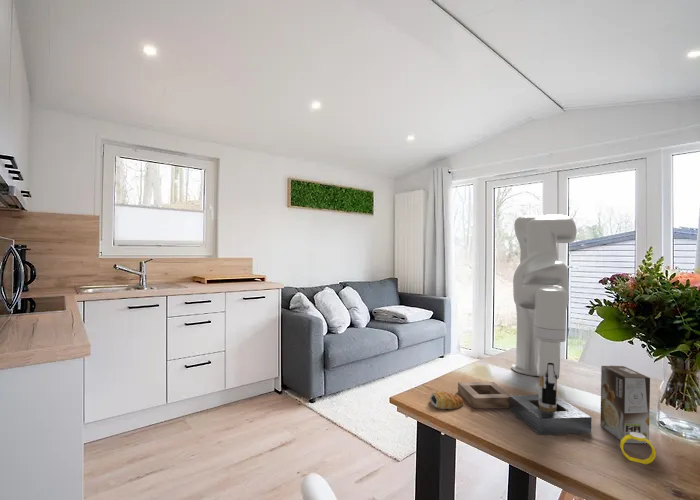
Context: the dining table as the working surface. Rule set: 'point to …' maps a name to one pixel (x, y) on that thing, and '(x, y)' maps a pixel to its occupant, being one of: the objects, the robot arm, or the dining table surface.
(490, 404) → the holder ring
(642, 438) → the watch
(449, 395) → the pastry
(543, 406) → the sprinkles bottle
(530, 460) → the dining table surface
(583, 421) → the block
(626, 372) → the coffee box
